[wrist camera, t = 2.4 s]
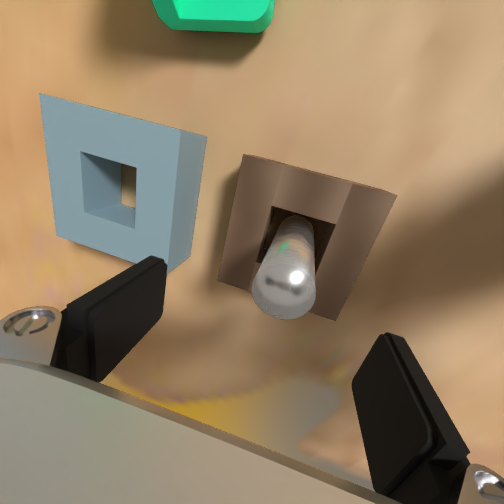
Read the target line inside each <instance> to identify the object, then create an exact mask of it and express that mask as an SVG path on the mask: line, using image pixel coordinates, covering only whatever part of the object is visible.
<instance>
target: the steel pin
mask: <svg viewBox="0 0 504 504" xmlns="http://www.w3.org/2000/svg"><path fill="white" fill-rule="evenodd" d="M252 295H253V298H254V301H255V302H256V304H257V305H258V307H259V308H260V309H261V310H262V311H263V312H265V313H266V314H268V315H270V316H272V317H274V318H278V319H285V320H288V319H295V318H298V317H301V316H303V315H304V314H306V313H307V312H308V311H309V310H310V309H311V308H312V306H313V304H314V301H315V297H316V288H315V259H314V231H313V226H312V224H311V223H310V221H309V220H308V219H306V218H304V217H302V216H297V215H295V216H290V217H288V218H286V219H285V220H284V221H283V222H282V223H281V225H280V227H279V229H278V231H277V233H276V235H275V237H274V239H273V241H272V243H271V245H270V247H269V249H268V251H267V253H266V255H265V257H264V259H263V262H262V264H261V266H260V268H259V270H258V272H257V274H256V276H255V278H254V280H253V283H252Z"/></svg>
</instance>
